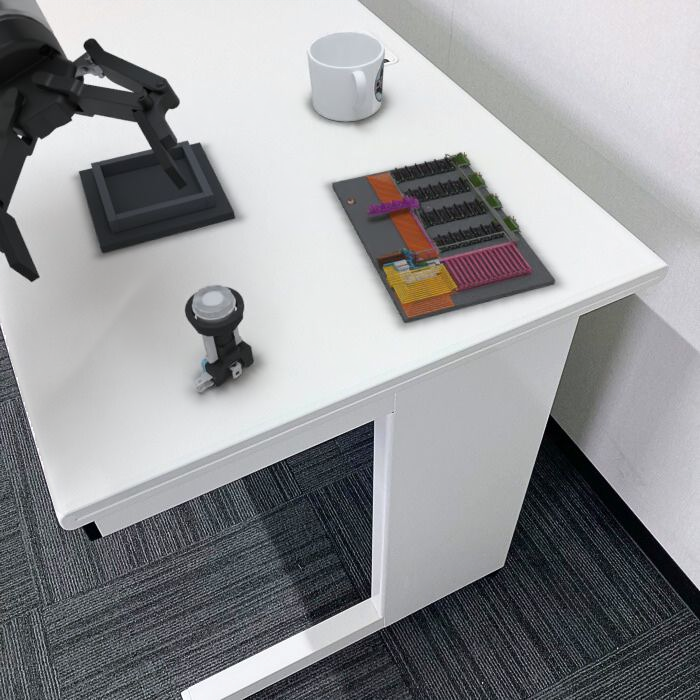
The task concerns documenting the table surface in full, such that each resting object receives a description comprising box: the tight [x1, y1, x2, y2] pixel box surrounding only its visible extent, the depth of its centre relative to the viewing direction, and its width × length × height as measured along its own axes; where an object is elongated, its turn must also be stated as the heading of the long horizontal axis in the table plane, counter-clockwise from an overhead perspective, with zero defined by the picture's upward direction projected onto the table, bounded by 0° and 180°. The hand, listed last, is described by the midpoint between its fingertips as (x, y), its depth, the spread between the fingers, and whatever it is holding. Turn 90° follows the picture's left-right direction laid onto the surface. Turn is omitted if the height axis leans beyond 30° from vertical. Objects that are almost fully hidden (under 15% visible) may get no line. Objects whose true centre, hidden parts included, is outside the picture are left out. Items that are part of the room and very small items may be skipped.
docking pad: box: [78, 140, 236, 254], centre depth 91 cm, size 16×16×3 cm
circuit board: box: [331, 151, 556, 324], centre depth 86 cm, size 25×18×3 cm
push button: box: [184, 284, 254, 393], centre depth 70 cm, size 7×5×10 cm
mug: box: [306, 30, 386, 122], centre depth 102 cm, size 13×10×8 cm
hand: (100, 225), depth 57 cm, fingers open, 13 cm apart
